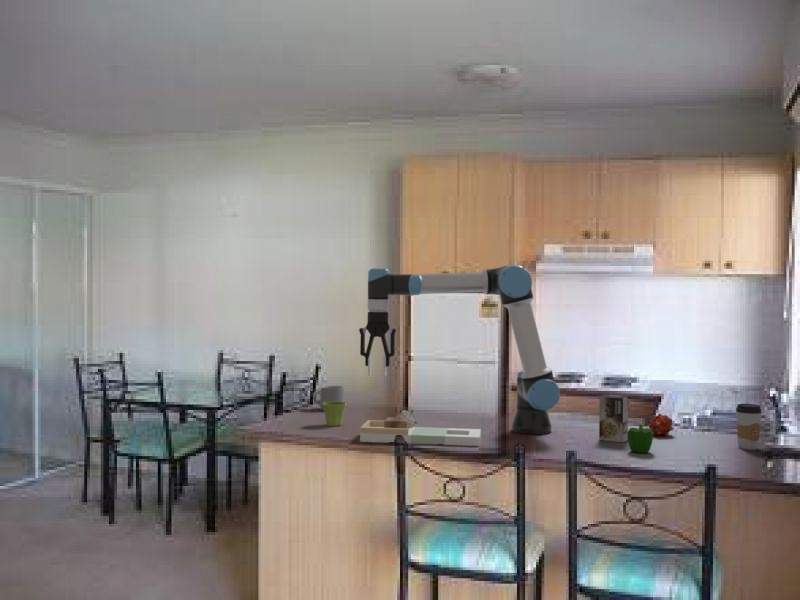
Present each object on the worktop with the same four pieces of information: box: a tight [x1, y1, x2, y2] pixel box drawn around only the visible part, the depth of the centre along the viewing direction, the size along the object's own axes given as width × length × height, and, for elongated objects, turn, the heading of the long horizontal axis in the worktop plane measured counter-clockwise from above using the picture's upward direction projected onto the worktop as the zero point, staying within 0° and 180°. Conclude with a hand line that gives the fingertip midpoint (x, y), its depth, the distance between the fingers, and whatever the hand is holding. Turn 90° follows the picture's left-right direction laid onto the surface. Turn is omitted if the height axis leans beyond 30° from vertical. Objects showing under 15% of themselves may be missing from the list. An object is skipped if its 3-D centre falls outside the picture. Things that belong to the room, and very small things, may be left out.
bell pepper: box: [627, 423, 654, 454], centre depth 270 cm, size 8×8×10 cm
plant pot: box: [322, 401, 347, 427], centre depth 315 cm, size 9×9×9 cm
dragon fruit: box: [647, 413, 674, 437], centre depth 302 cm, size 8×8×12 cm
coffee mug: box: [312, 385, 344, 412], centre depth 356 cm, size 13×10×10 cm
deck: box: [359, 419, 482, 447], centre depth 288 cm, size 42×16×5 cm, turn 83°
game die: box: [395, 408, 418, 426], centre depth 306 cm, size 9×8×10 cm
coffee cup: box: [735, 403, 763, 451], centre depth 279 cm, size 8×8×15 cm
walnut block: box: [383, 416, 409, 429], centre depth 289 cm, size 8×8×4 cm
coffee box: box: [598, 394, 629, 443], centre depth 291 cm, size 9×6×16 cm
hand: (377, 375), depth 290 cm, fingers open, 5 cm apart
